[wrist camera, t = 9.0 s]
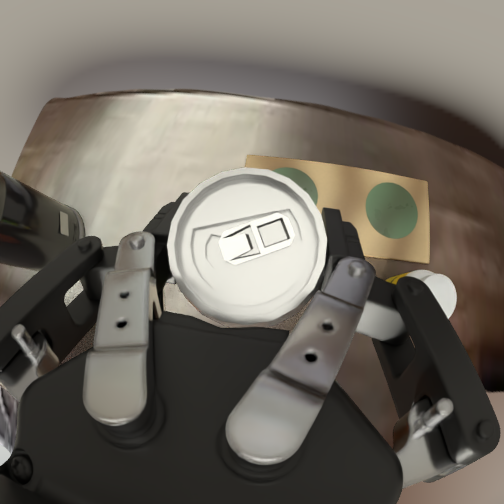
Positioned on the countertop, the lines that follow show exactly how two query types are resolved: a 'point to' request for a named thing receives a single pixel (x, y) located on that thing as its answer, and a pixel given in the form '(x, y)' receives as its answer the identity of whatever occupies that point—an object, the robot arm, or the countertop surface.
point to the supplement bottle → (435, 288)
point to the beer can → (248, 248)
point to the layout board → (365, 204)
